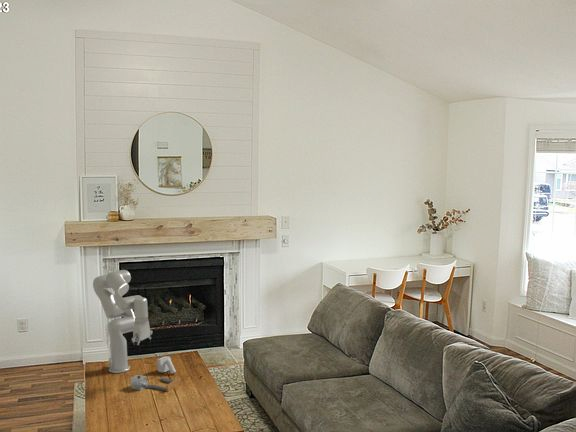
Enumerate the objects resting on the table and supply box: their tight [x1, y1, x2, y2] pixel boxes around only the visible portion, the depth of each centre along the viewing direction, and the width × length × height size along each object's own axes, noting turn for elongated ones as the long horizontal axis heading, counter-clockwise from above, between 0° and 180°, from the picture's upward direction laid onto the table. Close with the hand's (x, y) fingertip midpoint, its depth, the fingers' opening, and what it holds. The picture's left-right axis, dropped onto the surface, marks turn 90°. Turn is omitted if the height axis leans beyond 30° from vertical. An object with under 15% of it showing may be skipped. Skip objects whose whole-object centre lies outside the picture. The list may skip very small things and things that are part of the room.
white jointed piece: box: [156, 355, 177, 375], centre depth 341 cm, size 8×10×10 cm
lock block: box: [130, 374, 148, 391], centre depth 319 cm, size 7×6×7 cm
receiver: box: [145, 376, 182, 393], centre depth 322 cm, size 15×14×4 cm
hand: (143, 349), depth 324 cm, fingers open, 9 cm apart
